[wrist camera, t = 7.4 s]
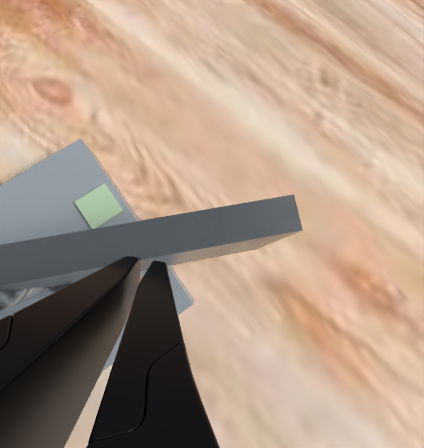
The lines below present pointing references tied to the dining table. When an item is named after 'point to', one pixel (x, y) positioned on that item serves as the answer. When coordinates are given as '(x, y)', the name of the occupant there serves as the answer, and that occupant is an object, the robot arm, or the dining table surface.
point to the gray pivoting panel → (142, 245)
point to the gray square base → (68, 210)
